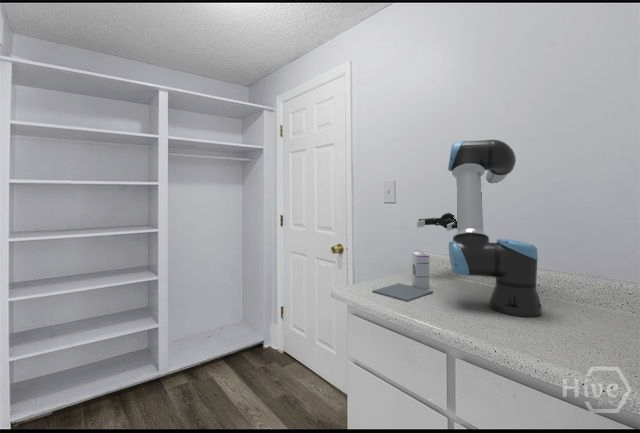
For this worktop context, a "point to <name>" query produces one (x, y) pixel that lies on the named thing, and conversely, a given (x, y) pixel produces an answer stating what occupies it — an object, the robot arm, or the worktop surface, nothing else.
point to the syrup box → (421, 270)
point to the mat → (402, 292)
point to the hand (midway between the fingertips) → (432, 226)
